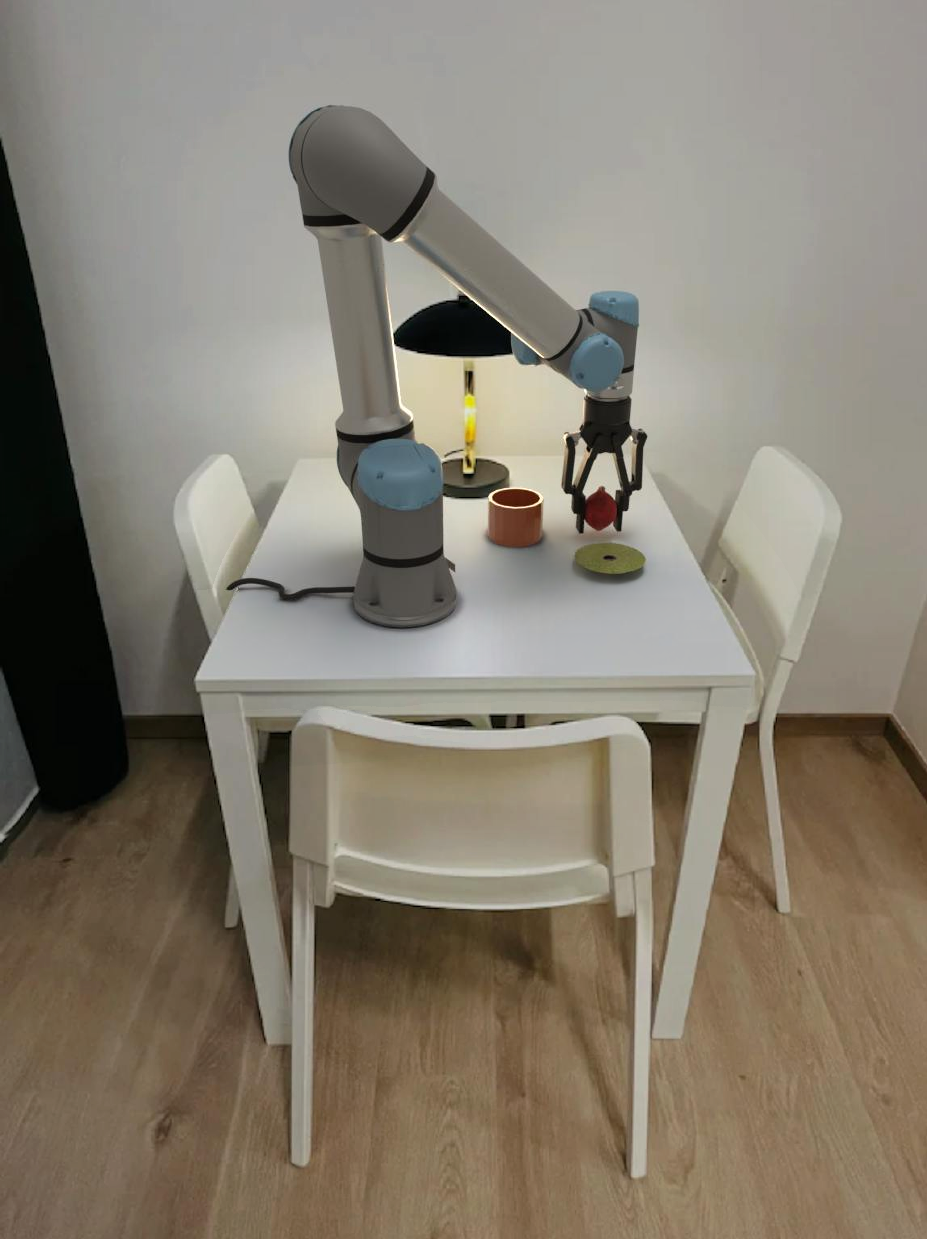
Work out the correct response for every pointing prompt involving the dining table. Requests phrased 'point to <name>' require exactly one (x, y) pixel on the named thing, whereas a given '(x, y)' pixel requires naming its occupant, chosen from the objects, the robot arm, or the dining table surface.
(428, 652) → the dining table surface
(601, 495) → the onion
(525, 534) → the flower pot
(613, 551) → the mat
